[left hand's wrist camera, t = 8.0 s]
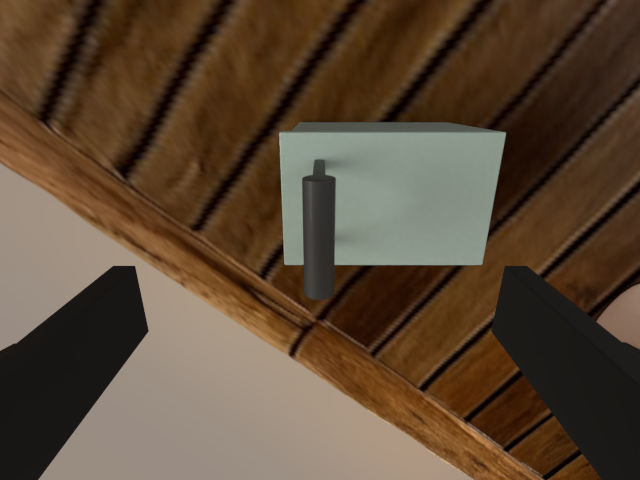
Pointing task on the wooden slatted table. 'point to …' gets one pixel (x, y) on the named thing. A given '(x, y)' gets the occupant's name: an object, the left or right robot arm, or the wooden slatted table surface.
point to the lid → (385, 199)
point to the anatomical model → (624, 317)
